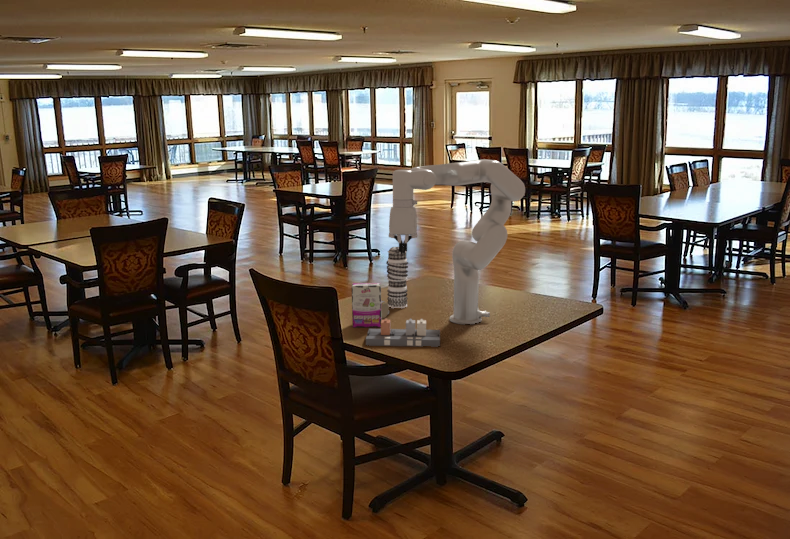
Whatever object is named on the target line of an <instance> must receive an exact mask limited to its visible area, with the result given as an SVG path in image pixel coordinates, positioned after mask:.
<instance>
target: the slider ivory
mask: <svg viewBox="0 0 790 539" xmlns="http://www.w3.org/2000/svg"><path fill="white" fill-rule="evenodd" d="M416 329H417V336H426V330H427V320H426V319H424V318H420V319H417V320H416Z"/></svg>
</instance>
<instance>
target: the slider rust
mask: <svg viewBox="0 0 790 539" xmlns="http://www.w3.org/2000/svg"><path fill="white" fill-rule="evenodd" d="M391 324H392V323H391V319H388V318H387V317H385V318H384V319H382V320H381V327H380V329H381V335H390V331H391V329H392V328H391V326H392V325H391Z"/></svg>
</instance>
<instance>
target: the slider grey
mask: <svg viewBox="0 0 790 539" xmlns="http://www.w3.org/2000/svg"><path fill="white" fill-rule="evenodd" d="M405 329H406V335H412V334H414V336H415V329H416V319H412V318H409V319H406V321H405Z"/></svg>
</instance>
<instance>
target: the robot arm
mask: <svg viewBox="0 0 790 539" xmlns="http://www.w3.org/2000/svg"><path fill="white" fill-rule="evenodd" d="M477 183H480V184H481V183H489V184H490V194H491V203H490V205H489V207H488V209H487V210H486V212H485V213H484V214H483V215H482V216H481V218H479V220H478V221H477V222H476V224H475V225H474V226H473V228H472V231H471V237H472V238H473V240H474V241H476V242H474V241H471V240H460V241H457V243H456V244H455V245H454V246H453V248H452V252H451V254H452V256H451V257H452V264H453V265H452V266H453V275H454V276H453V280H454V281H453V314H451V315H450V316H449V322H451V323H453V324H456V325H457V324H458V325H465V324H470V325H475V323H477V324H480V323H481V322H482V320H483V319H482V318H483V317H484V318H490V317H491V315H490V314H491V312H490V311H487V310H483V311H482V310H480V308H479V280H480V277H479V276H480V275H479V271H480V270H483V269H485V268H486V267H487V266H489V264H491V262H492V261H493V260H494V259H495V257H496V256H497V255H498V253H499V252H500V251H501V250H502V249H503V247H504V246H505V244H506V242H507V240H508V230H507V228H506V226H505V224H506V223H507V221H508V219H509V218H510V216H511V212H512V202H518V201H520V200H521V199H522V198H524V196H525V194H526V187H525V183H524V182H523V181H522V180H521V179H520V178H519V177H518V176H517V175H516V174H514V173H513V171H511V170H510V169H509V168H508V167H507V166H505V165H504V164H503V163H502V162H500V161H498V160H494V159H485V158H484V159H476V160H467V161H461V162H460V161H459V162H452V163H451V162H449V163H443V164H442V163H441V164H440V163H439V164H432V165H431V164H429V165H423V166H416V167H415V166H414V167H412V168H410V169H396V170H393V173H392V206H391V207H390V211H389V219H388V220H389V224H388V231H389V232H388V238H391V239H395V240H396V242H397V243H398V247H399V251H401V254H405V251H407V252H408V242H410V241H411V240H412V239H416V238H418V236H419V235H418V232H417V231H418V220H417V218H418V217H417V210H416V207H415V205H418V200H415V199H414V190H423V191H427V190H428V191H429V190H430V189H433V187H434V186H435V185H440V186H441V185H444V186H465V185H472V184H477ZM402 236H404V240H403V239H402ZM479 322H480V323H479Z"/></svg>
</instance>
